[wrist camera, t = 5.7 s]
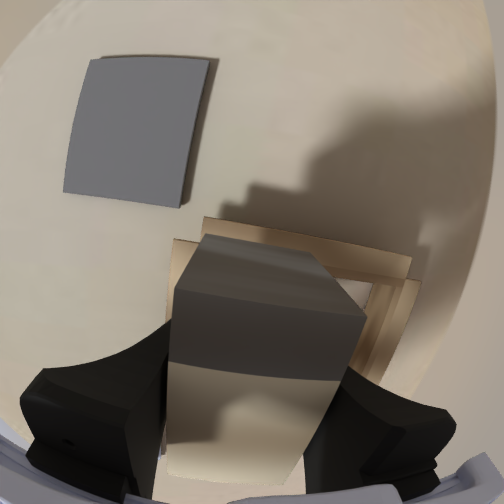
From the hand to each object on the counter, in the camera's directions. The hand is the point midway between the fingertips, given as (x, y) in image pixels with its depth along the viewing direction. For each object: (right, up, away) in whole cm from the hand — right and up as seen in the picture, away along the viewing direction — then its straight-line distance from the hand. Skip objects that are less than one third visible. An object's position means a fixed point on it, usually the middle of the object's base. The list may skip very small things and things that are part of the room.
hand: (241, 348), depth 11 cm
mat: (-8, +12, +5) cm, 15 cm away
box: (0, 0, +2) cm, 2 cm away
